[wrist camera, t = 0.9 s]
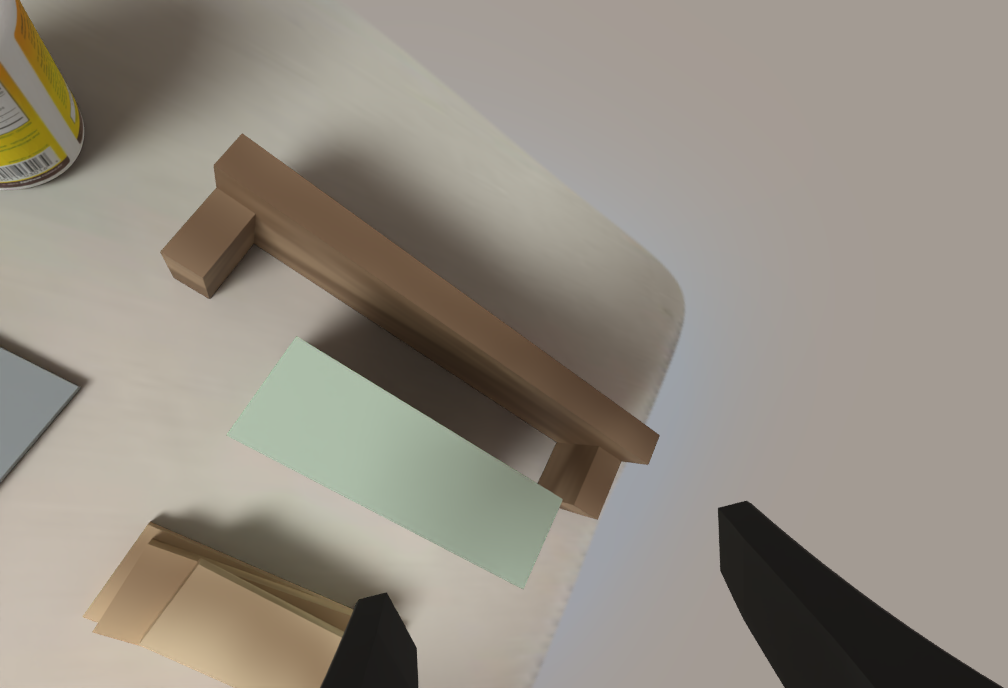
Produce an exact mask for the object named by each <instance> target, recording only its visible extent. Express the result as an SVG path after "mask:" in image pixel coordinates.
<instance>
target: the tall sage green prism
mask: <svg viewBox="0 0 1008 688" xmlns="http://www.w3.org/2000/svg"><path fill="white" fill-rule="evenodd" d="M227 436H229V437H231V438H233V439H234V440H236V441H238V442H240V443H242V444H244V445H246V446H248V447H250V448H252V449H254V450H256V451H258V452H259V453H261V454H263V455H265V456H267V457H269V458H271V459H273V460H275V461H277V462H279V463H281V464H283V465H284V466H286V467H288V468H290V469H292V470H294V471H296V472H298V473H300V474H302V475H304V476H306V477H308V478H310V479H311V480H313V481H315V482H317V483H319V484H321V485H323V486H325V487H327V488H329V489H331V490H333V491H335V492H336V493H338V494H340V495H342V496H344V497H346V498H348V499H350V500H352V501H354V502H356V503H358V504H360V505H361V506H363V507H365V508H367V509H369V510H371V511H373V512H375V513H377V514H379V515H381V516H383V517H385V518H387V519H388V520H390V521H392V522H394V523H396V524H398V525H400V526H402V527H404V528H406V529H408V530H410V531H412V532H413V533H415V534H417V535H419V536H421V537H423V538H425V539H427V540H429V541H431V542H433V543H435V544H437V545H438V546H440V547H442V548H444V549H446V550H448V551H450V552H452V553H454V554H456V555H458V556H460V557H462V558H463V559H465V560H467V561H469V562H471V563H473V564H475V565H477V566H479V567H481V568H483V569H485V570H487V571H489V572H490V573H492V574H494V575H496V576H498V577H500V578H502V579H504V580H506V581H508V582H510V583H512V584H514V585H515V586H517V587H519V588H521V589H524V587H525V584H526V582H527V580H528V577H529V575H530V573H531V571H532V568H533V566H534V564H535V562H536V559H537V557H538V555H539V552H540V550H541V548H542V546H543V543H544V541H545V539H546V537H547V534H548V532H549V530H550V528H551V525H552V523H553V521H554V518H555V516H556V514H557V512H558V509H559V507H560V505H561V503H562V500H563V499H562V498H560V497H558V496H557V495H555V494H554V493H552V492H550V491H549V490H547V489H545V488H544V487H542V486H540V485H539V484H537V483H536V482H534V481H532V480H531V479H529V478H527V477H526V476H524V475H522V474H521V473H519V472H518V471H516V470H514V469H513V468H511V467H509V466H508V465H506V464H504V463H503V462H501V461H500V460H498V459H496V458H495V457H493V456H491V455H490V454H488V453H486V452H485V451H483V450H482V449H480V448H478V447H477V446H475V445H473V444H472V443H470V442H468V441H467V440H465V439H464V438H462V437H460V436H459V435H457V434H455V433H454V432H452V431H451V430H449V429H447V428H446V427H444V426H442V425H441V424H439V423H437V422H436V421H434V420H433V419H431V418H429V417H428V416H426V415H424V414H423V413H421V412H419V411H418V410H416V409H415V408H413V407H411V406H410V405H408V404H406V403H405V402H403V401H401V400H400V399H398V398H397V397H395V396H393V395H392V394H390V393H388V392H387V391H385V390H383V389H382V388H380V387H379V386H377V385H375V384H374V383H372V382H370V381H369V380H367V379H365V378H364V377H362V376H361V375H359V374H357V373H356V372H354V371H352V370H351V369H349V368H347V367H346V366H344V365H343V364H341V363H339V362H338V361H336V360H334V359H333V358H331V357H330V356H328V355H326V354H325V353H323V352H321V351H320V350H318V349H316V348H315V347H313V346H312V345H310V344H308V343H307V342H305V341H303V340H302V339H300V338H298V337H297V336H296V338H295V339H294V340H293V342H292V343H291V345H290V346H289V347H288V349H287V350H286V352H285V353H284V355H283V356H282V357H281V359H280V360H279V362H278V363H277V364H276V366H275V367H274V369H273V370H272V371H271V373H270V374H269V376H268V377H267V378H266V380H265V381H264V383H263V384H262V386H261V387H260V388H259V390H258V391H257V393H256V394H255V395H254V397H253V398H252V400H251V401H250V402H249V404H248V405H247V407H246V408H245V410H244V411H243V412H242V414H241V415H240V417H239V418H238V419H237V421H236V422H235V424H234V425H233V426H232V428H231V429H230V431H229V432H228V433H227Z"/></svg>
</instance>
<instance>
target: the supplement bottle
mask: <svg viewBox="0 0 1008 688" xmlns="http://www.w3.org/2000/svg"><path fill="white" fill-rule="evenodd" d="M83 140H84V123H83V118H82V115H81V112H80V109H79V106H78V104H77V102H76V100H75V99H74V97H73V95H72V93H71V91H70V89H69V88H68V86H67V84H66V82H65V80H64V79H63V77H62V75H61V73H60V72H59V70H58V68H57V66H56V65H55V63H54V61H53V59H52V57H51V55H50V54H49V52H48V50H47V48H46V47H45V45H44V43H43V41H42V40H41V38H40V36H39V34H38V33H37V31H36V29H35V27H34V25H33V24H32V22H31V20H30V18H29V17H28V15H27V13H26V11H25V9H24V8H23V6H22V4H21V2H20V0H0V190H16V189H24V188H30V187H34V186H37V185H40V184H43V183H46V182H48V181H50V180H52V179H54V178H56V177H58V176H59V175H61V174H62V173H63V172H65V171H66V170H67V169H68V168H69V167H70V166H71V165H72V164H73V162H74V161H75V160H76V158H77V157H78V155H79V153H80V151H81V148H82V145H83Z"/></svg>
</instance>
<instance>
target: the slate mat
mask: <svg viewBox="0 0 1008 688" xmlns="http://www.w3.org/2000/svg"><path fill="white" fill-rule="evenodd" d="M80 388H81V387H80V386H78V385H76V384H74V383H72V382H70V381H68V380H66V379H64V378H62V377H60V376H58V375H56V374H54V373H52V372H50V371H48V370H46V369H44V368H42V367H40V366H38V365H36V364H34V363H32V362H30V361H28V360H26V359H24V358H22V357H20V356H18V355H16V354H14V353H12V352H10V351H8V350H6V349H4V348H2V347H0V483H1V482H2V480H3V479H4V478H5V477H6V476H7V475H8V473H9V472H10V471H11V470H12V469H13V467H14V466H15V465H16V464H17V463H18V462H19V460H20V459H21V458H22V457H23V456H24V454H25V453H26V452H27V451H28V450H29V449H30V447H31V446H32V445H33V444H34V443H35V441H36V440H37V439H38V438H39V437H40V436H41V434H42V433H43V432H44V431H45V430H46V428H47V427H48V426H49V425H50V424H51V423H52V421H53V420H54V419H55V418H56V417H57V415H58V414H59V413H60V412H61V411H62V410H63V408H64V407H65V406H66V405H67V404H68V402H69V401H70V400H71V399H72V398H73V397H74V395H75V394H76V393H77V392H78V391H79V389H80Z"/></svg>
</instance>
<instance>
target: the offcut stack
mask: <svg viewBox="0 0 1008 688" xmlns="http://www.w3.org/2000/svg"><path fill="white" fill-rule="evenodd" d="M352 612H353V609H351V608H349V607H347V606H344V605H342V604H340V603H337V602H335V601H333V600H330V599H328V598H326V597H323V596H321V595H319V594H316V593H314V592H312V591H309V590H307V589H305V588H303V587H300V586H298V585H296V584H293V583H291V582H289V581H286V580H284V579H282V578H279V577H277V576H275V575H272V574H270V573H268V572H266V571H263V570H261V569H259V568H256V567H254V566H252V565H249V564H247V563H245V562H242V561H240V560H238V559H235V558H233V557H231V556H229V555H226V554H224V553H222V552H219V551H217V550H215V549H212V548H210V547H208V546H205V545H203V544H201V543H198V542H196V541H194V540H191V539H189V538H187V537H185V536H182V535H180V534H178V533H175V532H173V531H171V530H168V529H166V528H164V527H161V526H159V525H157V524H154V523H152V522H150V523H149V524H148V525H147V526H146V528H145V529H144V531H143V532H142V533H141V535H140V536H139V538H138V539H137V541H136V542H135V543H134V545H133V546H132V548H131V549H130V550H129V552H128V553H127V555H126V556H125V557H124V559H123V560H122V562H121V563H120V565H119V566H118V567H117V569H116V570H115V572H114V573H113V574H112V576H111V577H110V579H109V580H108V581H107V583H106V584H105V586H104V587H103V588H102V590H101V591H100V593H99V594H98V596H97V597H96V598H95V600H94V601H93V603H92V604H91V605H90V607H89V608H88V610H87V611H86V612H85V614H84V615H83V617H84V618H87V619H89V620H92V621H95V622H98V624H97V626H96V627H95V629H94V630H93V633H97V634H100V635H104V636H107V637H111V638H114V639H118V640H121V641H125V642H128V643H132V644H135V645H139V646H142V647H144V648H147V649H149V650H151V651H153V652H156V653H158V654H160V655H162V656H165V657H167V658H169V659H171V660H174V661H176V662H178V663H180V664H183V665H185V666H187V667H189V668H192V669H194V670H196V671H198V672H201V673H203V674H205V675H207V676H210V677H212V678H214V679H216V680H219V681H221V682H223V683H225V684H228V685H230V686H232V687H234V688H320V687H321V684H322V682H323V680H324V678H325V676H326V673H327V671H328V669H329V666H330V664H331V662H332V660H333V657H334V655H335V653H336V650H337V648H338V646H339V643H340V641H341V639H342V636H343V634H344V632H345V629H346V627H347V624H348V622H349V620H350V617H351V615H352Z"/></svg>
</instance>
